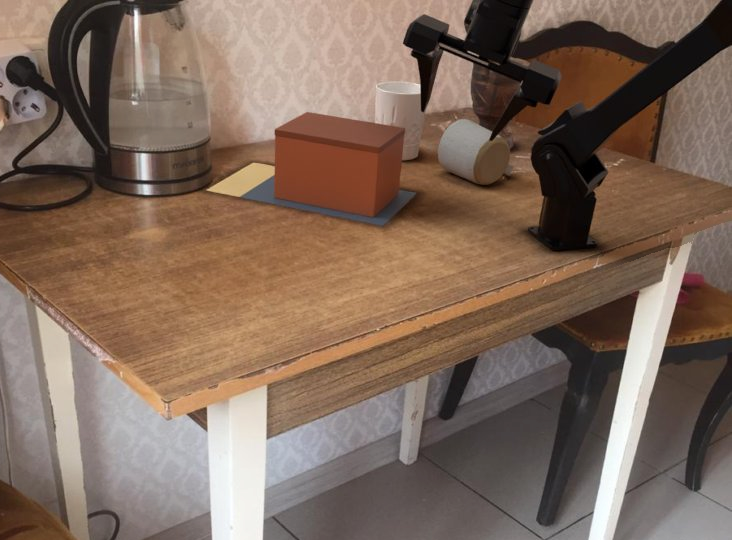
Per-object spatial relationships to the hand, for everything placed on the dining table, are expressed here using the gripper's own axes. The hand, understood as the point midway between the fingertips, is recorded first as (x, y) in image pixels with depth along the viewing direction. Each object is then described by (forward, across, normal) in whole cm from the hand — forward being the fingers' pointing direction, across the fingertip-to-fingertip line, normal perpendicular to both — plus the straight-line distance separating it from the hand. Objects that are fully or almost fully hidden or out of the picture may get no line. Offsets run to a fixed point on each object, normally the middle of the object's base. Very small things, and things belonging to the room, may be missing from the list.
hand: (456, 125), depth 108 cm
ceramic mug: (+12, -4, -15) cm, 20 cm away
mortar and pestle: (+13, -3, -31) cm, 34 cm away
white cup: (+15, +9, -20) cm, 27 cm away
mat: (+15, +15, +2) cm, 21 cm away
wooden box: (+14, +11, +2) cm, 18 cm away
